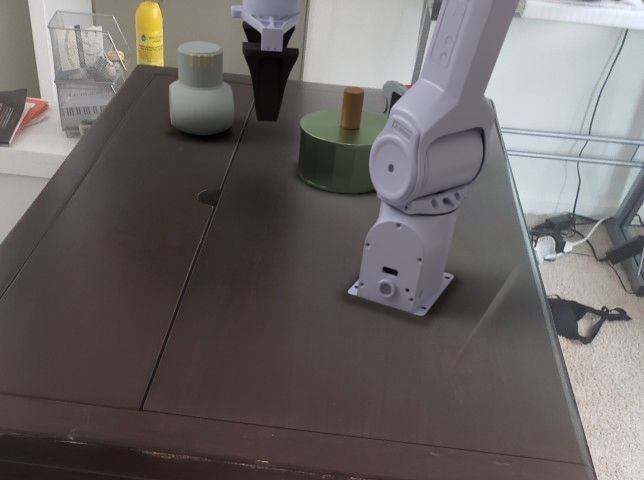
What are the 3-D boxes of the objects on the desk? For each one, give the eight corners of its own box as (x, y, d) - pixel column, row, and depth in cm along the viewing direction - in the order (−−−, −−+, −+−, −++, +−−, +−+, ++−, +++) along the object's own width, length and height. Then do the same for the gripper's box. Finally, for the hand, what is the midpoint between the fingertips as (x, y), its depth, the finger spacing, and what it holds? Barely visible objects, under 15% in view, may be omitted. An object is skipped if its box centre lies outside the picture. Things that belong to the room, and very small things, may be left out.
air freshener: (235, 143, 100) (236, 60, 93) (173, 143, 99) (170, 59, 92) (226, 115, 108) (227, 36, 101) (169, 115, 107) (166, 34, 99)
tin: (364, 201, 89) (371, 154, 85) (282, 179, 93) (285, 133, 89) (399, 171, 96) (406, 127, 92) (321, 151, 100) (325, 108, 96)
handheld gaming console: (371, 137, 104) (380, 73, 99) (390, 135, 105) (400, 72, 100) (416, 177, 95) (429, 110, 89) (437, 176, 96) (451, 109, 90)
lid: (381, 162, 85) (389, 114, 82) (284, 141, 88) (287, 94, 85) (410, 129, 94) (417, 85, 90) (319, 111, 96) (323, 68, 93)
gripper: (232, -60, 77) (230, 85, 86) (230, -32, 66) (228, 130, 76) (300, -56, 77) (291, 88, 87) (309, -27, 67) (297, 133, 76)
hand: (266, 108), depth 81 cm, fingers open, 7 cm apart
